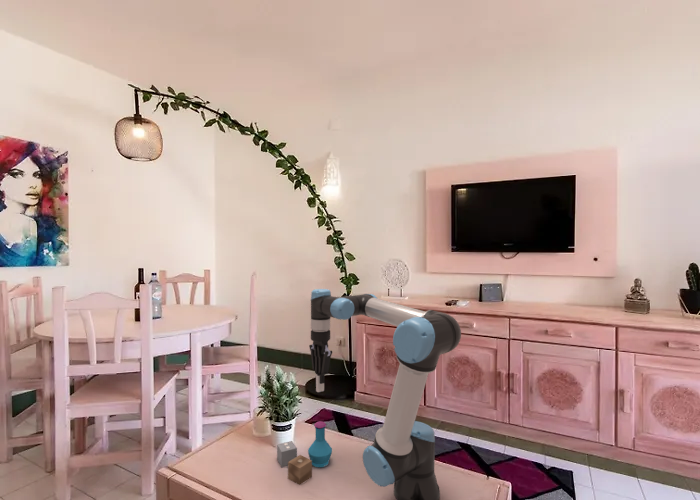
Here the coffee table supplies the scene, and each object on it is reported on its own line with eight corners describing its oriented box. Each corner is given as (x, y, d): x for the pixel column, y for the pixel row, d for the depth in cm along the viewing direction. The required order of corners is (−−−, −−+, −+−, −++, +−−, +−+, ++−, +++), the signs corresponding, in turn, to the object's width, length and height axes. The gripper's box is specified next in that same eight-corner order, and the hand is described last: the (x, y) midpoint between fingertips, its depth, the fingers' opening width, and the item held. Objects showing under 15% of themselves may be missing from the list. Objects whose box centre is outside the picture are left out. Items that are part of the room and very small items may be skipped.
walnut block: (311, 477, 135) (311, 460, 135) (299, 485, 131) (299, 467, 130) (300, 471, 139) (300, 454, 139) (287, 478, 134) (288, 461, 134)
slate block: (296, 463, 144) (296, 447, 144) (281, 467, 141) (281, 451, 141) (291, 455, 149) (292, 440, 149) (277, 459, 146) (277, 443, 146)
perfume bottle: (333, 456, 149) (333, 418, 149) (330, 470, 139) (330, 429, 139) (310, 455, 150) (310, 417, 149) (305, 468, 140) (305, 428, 140)
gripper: (338, 331, 141) (337, 394, 142) (319, 325, 152) (319, 383, 152) (321, 334, 137) (320, 398, 137) (303, 327, 147) (303, 387, 148)
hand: (320, 390), depth 145 cm, fingers closed
